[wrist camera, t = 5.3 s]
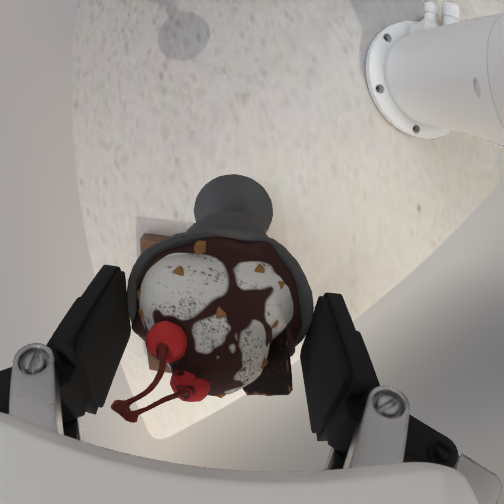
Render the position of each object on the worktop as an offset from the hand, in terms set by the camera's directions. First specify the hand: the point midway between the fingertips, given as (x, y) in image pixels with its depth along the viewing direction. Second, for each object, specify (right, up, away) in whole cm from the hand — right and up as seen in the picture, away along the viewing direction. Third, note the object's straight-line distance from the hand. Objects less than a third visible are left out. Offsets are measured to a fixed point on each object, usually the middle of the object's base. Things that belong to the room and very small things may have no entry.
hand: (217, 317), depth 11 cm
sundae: (0, +5, +9) cm, 10 cm away
